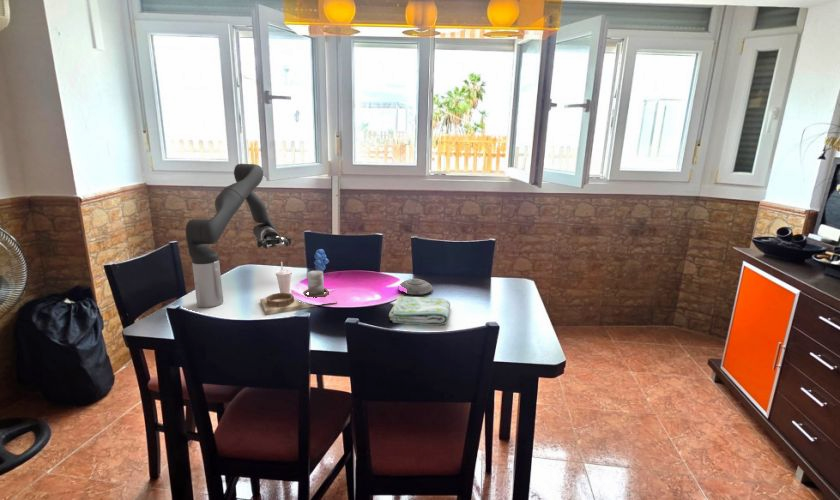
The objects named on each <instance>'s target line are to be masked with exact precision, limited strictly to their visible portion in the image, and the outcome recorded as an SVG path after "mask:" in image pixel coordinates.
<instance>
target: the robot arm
mask: <svg viewBox="0 0 840 500" xmlns="http://www.w3.org/2000/svg"><path fill="white" fill-rule="evenodd" d="M233 169H234V170H233V175H234V181H235V183H232V184H230V185H227V186H226V187H224V188H222V190H221V191H220V193H219V194H218V195H217V196H216V197H215V200H214V208H215V211H216V213H215V215H213V217H211V218H209V219H207V218H205V219H204V218H203V219H202V218H192V219H190V220H189V221H187V223H186V225H185V238H186V245H187V249H188V253H189V257H190V259H191V263H192V264H191V265H192V273H193V281H194V283H193V284H194V290H195V299H196V307H197V308H198V309H199V308H213V307H217V306H219V305H221V304H223V302H224V295H223V286H222V277H221V276H222V275H221V267H220V256H219V253H218V252H217V250H216V251H215V250H213V249H212V248H210V247H209V246H207V245H214V244H216V243H217V242H218V241H219V240H220V239H221V237H222V236H223V234H224V232H225V230H226V228H227V226H228V225H229V223H230V221H231V220H232V218H233V217H234V215H235V214H236V213H237V212H238V210H239V209H240V208H241V206H242V205H243V204H244V202H245V201H246V203H247V205H248V207H249V211H250V213H251V216H252V219H253V221H254V222H255V223H257V224H255V225H254V226H253V229H252V233H253V236H254V237H255V238H256V240H255V241H256V246H257V248H261V247H262V248H264V249H265V250H267V249H268V248H274V247H276V246H285V248H286V247H289V245H292V238H291V237H290V236H289V235H285V237H283V236H280V234H279V233H278V231H277V229H276V225H275V224H274V222H273V221H272V220H271V218H270V217H269V214H268V211H267V207H266V205H265V202H264V200H262V199H261V197H260V196H258V194H256V192H255V191H254V190H255V189H256V188H258V186H259V185H260V184H261V182H262V181H263V179H264V171H263V168H262V167H261V166H260V165H259V164H254V163H238V164H236V165H235V166H234V168H233Z"/></svg>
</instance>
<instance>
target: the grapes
mask: <svg viewBox="0 0 840 500" xmlns="http://www.w3.org/2000/svg"><path fill="white" fill-rule="evenodd" d="M314 258H315V260H314V261H313V263H314V264H313V265H315V267H314V268H315V271H322V272H323V273H324V271H325V269H326V268H327V267H326V265H328V263H330V260H329V259H328V258H327V255H326V252H325V250H324V249H323V248H320V249H319V248H318V249H316V251H315V254H314Z"/></svg>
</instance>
